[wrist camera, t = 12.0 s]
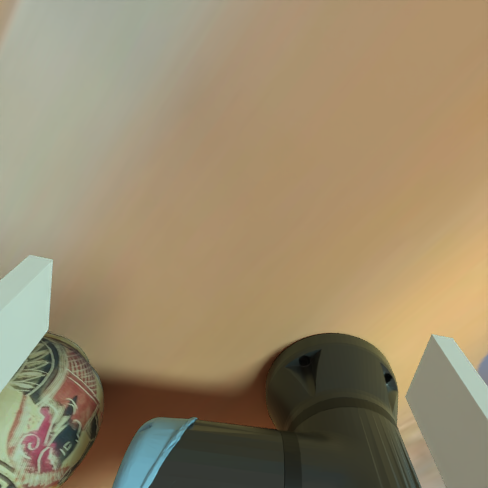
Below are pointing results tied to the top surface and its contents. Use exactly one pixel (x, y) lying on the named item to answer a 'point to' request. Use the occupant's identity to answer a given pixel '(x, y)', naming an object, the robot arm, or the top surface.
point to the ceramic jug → (48, 415)
